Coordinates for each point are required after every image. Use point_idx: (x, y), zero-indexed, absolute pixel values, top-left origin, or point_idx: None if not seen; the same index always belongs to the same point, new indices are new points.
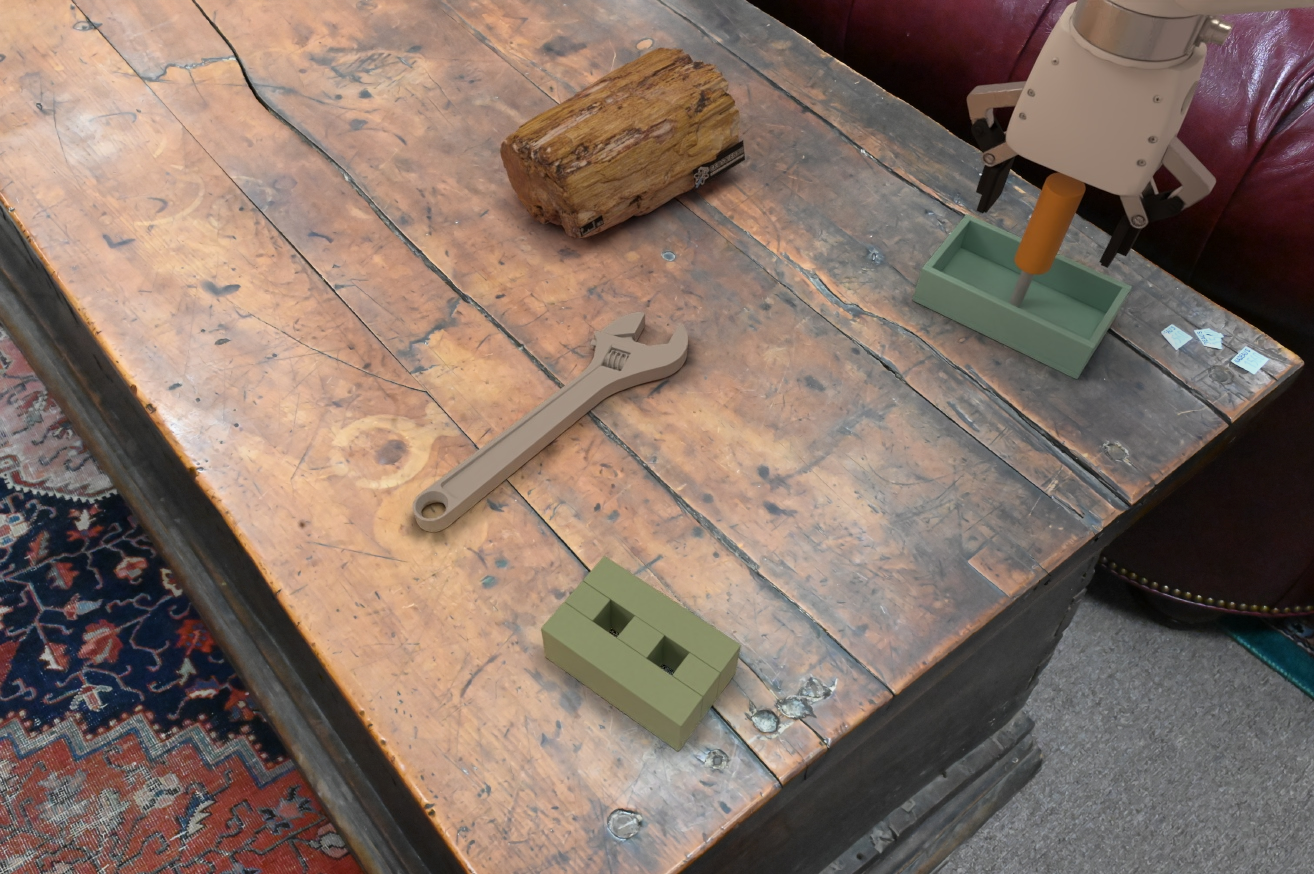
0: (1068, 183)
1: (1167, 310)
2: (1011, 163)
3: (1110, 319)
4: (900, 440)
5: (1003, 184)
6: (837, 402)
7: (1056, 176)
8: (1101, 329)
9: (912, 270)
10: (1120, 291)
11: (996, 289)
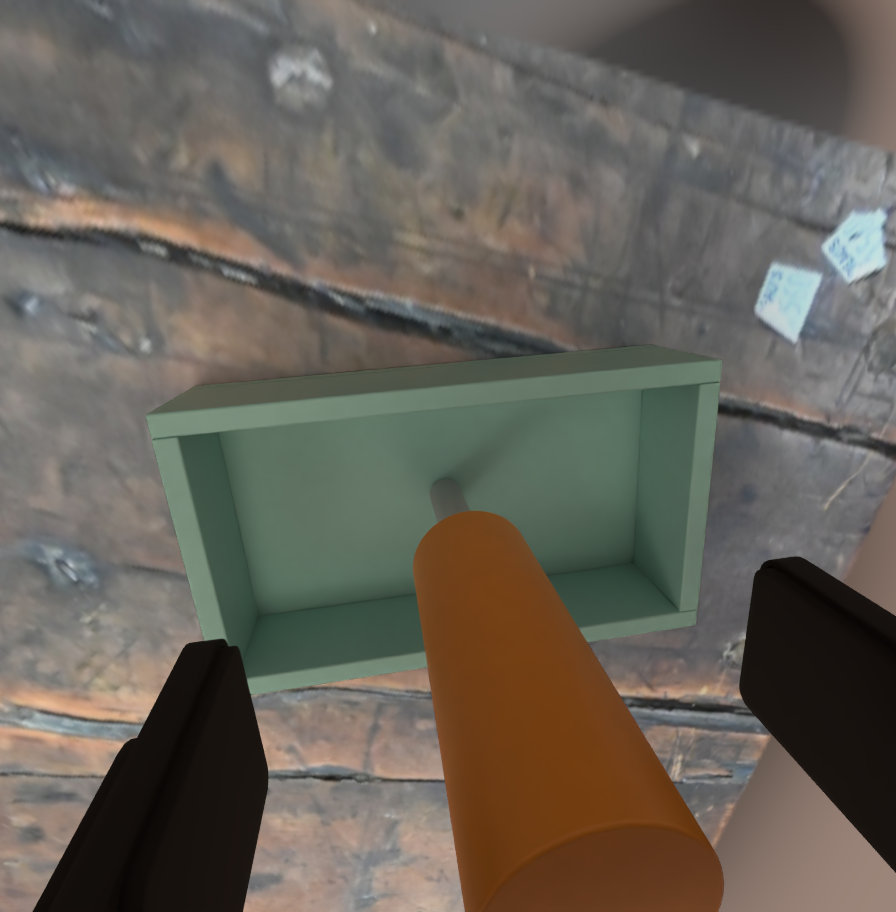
0: (612, 906)
1: (754, 219)
2: (171, 864)
3: (705, 520)
4: (446, 858)
5: (222, 731)
6: (317, 878)
7: (516, 906)
8: (694, 563)
9: (176, 542)
10: (699, 404)
11: (384, 483)
